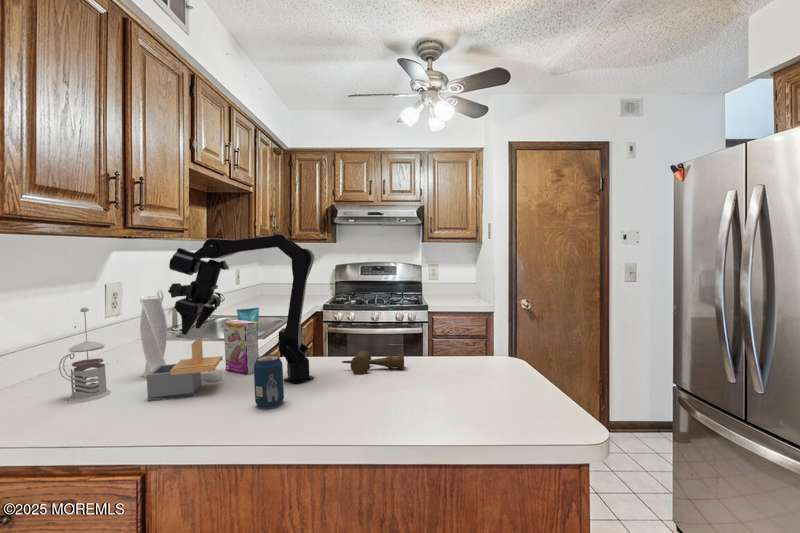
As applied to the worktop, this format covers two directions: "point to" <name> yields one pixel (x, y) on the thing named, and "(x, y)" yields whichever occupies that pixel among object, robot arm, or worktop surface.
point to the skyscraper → (153, 331)
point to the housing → (171, 383)
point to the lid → (196, 361)
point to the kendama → (374, 362)
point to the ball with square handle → (212, 375)
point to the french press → (87, 372)
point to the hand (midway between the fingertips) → (191, 331)
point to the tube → (249, 315)
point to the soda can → (268, 381)
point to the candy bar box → (240, 345)
